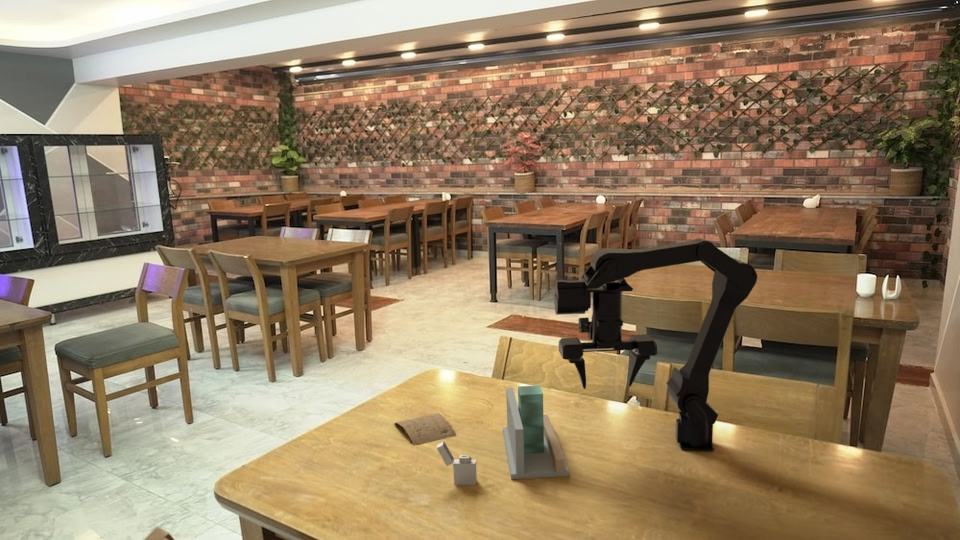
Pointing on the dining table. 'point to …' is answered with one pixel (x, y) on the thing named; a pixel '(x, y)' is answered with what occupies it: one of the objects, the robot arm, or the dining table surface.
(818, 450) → the dining table surface
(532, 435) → the teal block
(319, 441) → the dining table surface
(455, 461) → the lighter
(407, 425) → the curved bark piece
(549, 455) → the grey bookend
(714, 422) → the robot arm
